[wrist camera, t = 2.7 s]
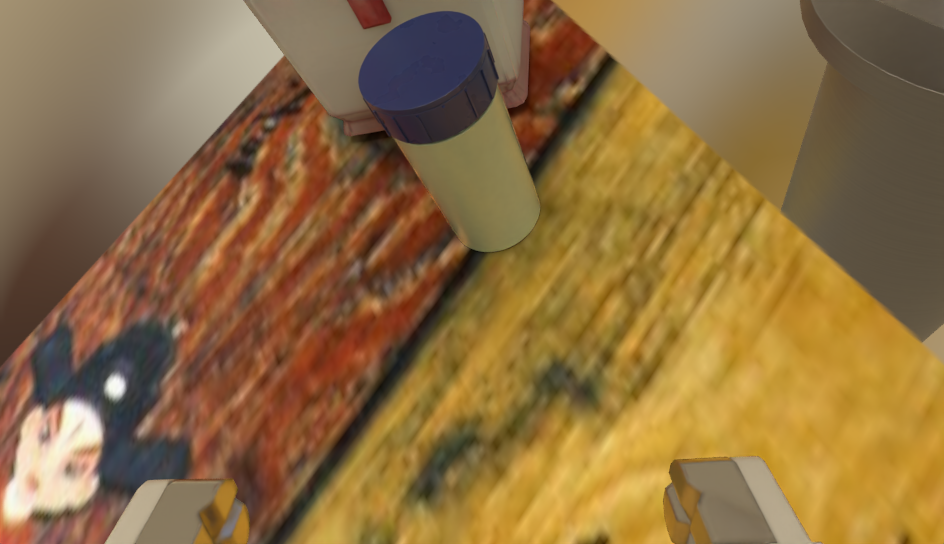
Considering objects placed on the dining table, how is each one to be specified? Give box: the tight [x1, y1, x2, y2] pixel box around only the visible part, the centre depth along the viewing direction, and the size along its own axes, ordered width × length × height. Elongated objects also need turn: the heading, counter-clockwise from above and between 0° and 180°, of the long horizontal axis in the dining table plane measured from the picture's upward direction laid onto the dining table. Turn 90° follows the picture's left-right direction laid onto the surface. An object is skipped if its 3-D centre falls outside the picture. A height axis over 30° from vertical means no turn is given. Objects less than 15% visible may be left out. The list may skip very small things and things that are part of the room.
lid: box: [358, 11, 499, 144], centre depth 24 cm, size 6×6×2 cm
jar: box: [393, 83, 540, 252], centre depth 29 cm, size 6×6×12 cm
